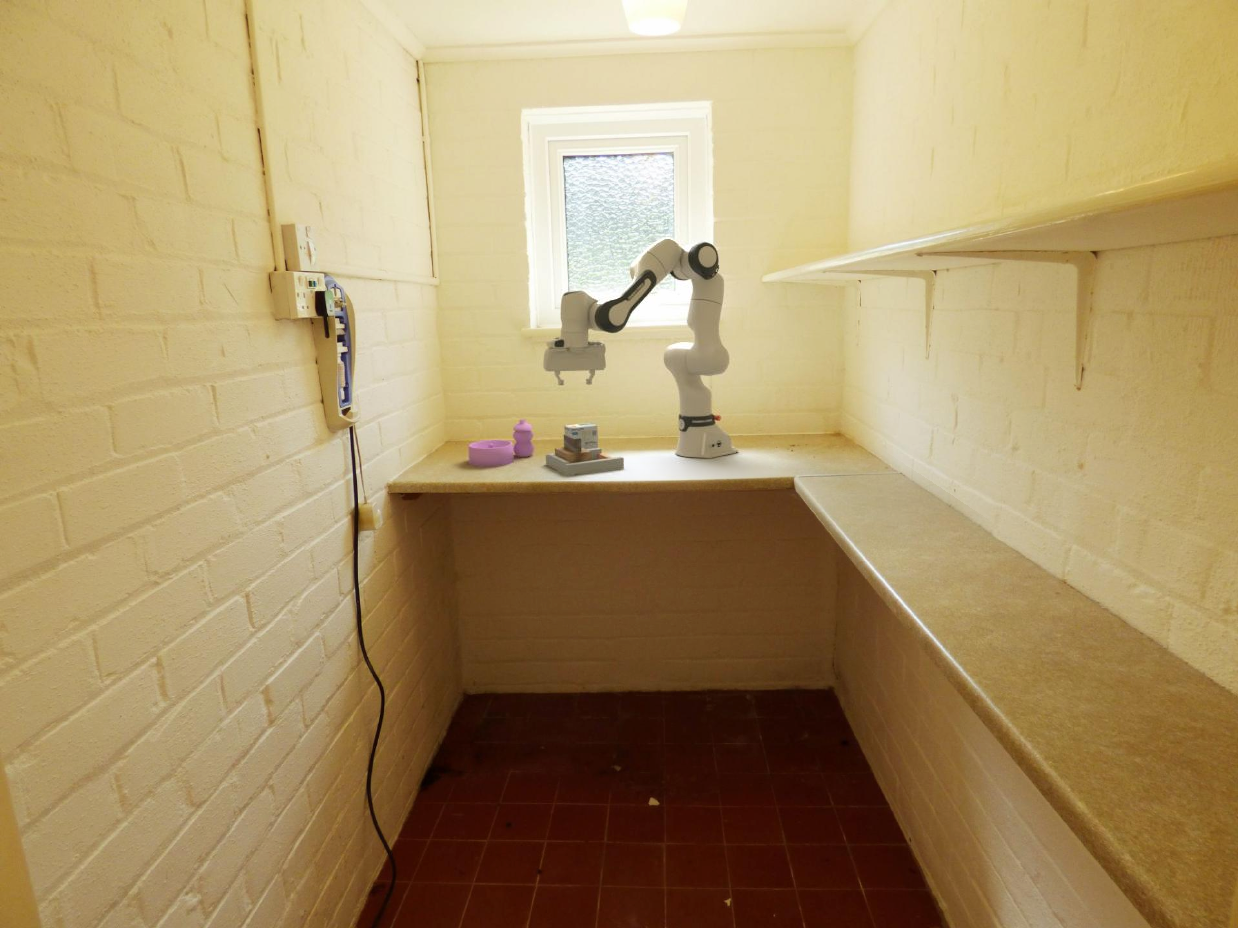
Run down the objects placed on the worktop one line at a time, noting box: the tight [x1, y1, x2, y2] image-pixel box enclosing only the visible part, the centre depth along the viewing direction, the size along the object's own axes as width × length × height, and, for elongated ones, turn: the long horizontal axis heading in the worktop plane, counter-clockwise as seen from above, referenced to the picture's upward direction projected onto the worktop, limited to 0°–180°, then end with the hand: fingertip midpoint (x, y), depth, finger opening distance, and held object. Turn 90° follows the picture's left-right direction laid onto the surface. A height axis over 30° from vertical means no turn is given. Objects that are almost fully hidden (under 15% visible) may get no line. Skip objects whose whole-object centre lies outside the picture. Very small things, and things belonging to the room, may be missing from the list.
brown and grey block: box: [554, 433, 592, 463], centre depth 238 cm, size 8×12×10 cm, turn 27°
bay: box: [545, 447, 625, 477], centre depth 240 cm, size 20×19×4 cm
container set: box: [467, 418, 535, 468], centre depth 252 cm, size 25×15×13 cm, turn 132°
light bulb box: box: [563, 422, 599, 449], centre depth 258 cm, size 11×7×11 cm, turn 115°
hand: (575, 384), depth 233 cm, fingers open, 8 cm apart
